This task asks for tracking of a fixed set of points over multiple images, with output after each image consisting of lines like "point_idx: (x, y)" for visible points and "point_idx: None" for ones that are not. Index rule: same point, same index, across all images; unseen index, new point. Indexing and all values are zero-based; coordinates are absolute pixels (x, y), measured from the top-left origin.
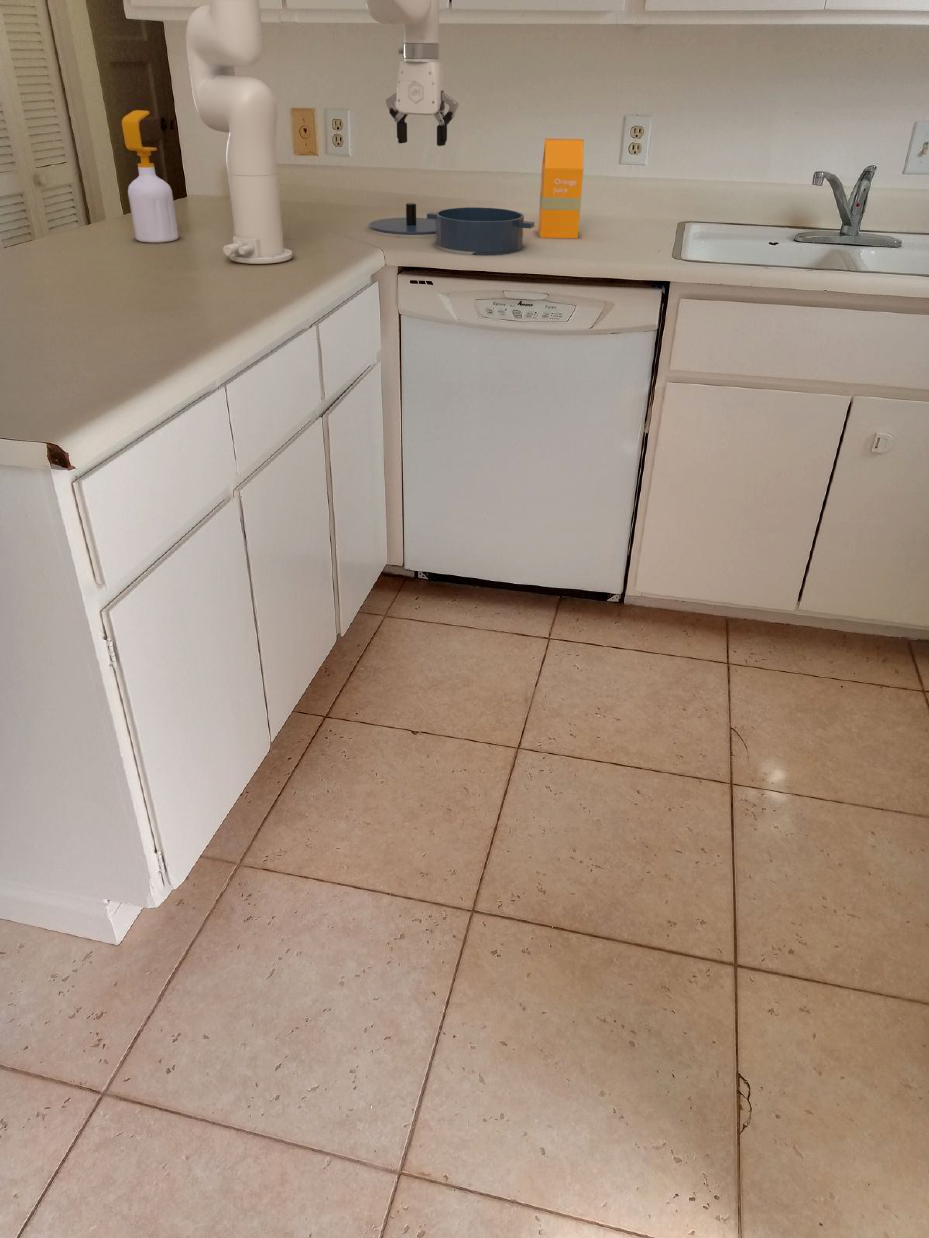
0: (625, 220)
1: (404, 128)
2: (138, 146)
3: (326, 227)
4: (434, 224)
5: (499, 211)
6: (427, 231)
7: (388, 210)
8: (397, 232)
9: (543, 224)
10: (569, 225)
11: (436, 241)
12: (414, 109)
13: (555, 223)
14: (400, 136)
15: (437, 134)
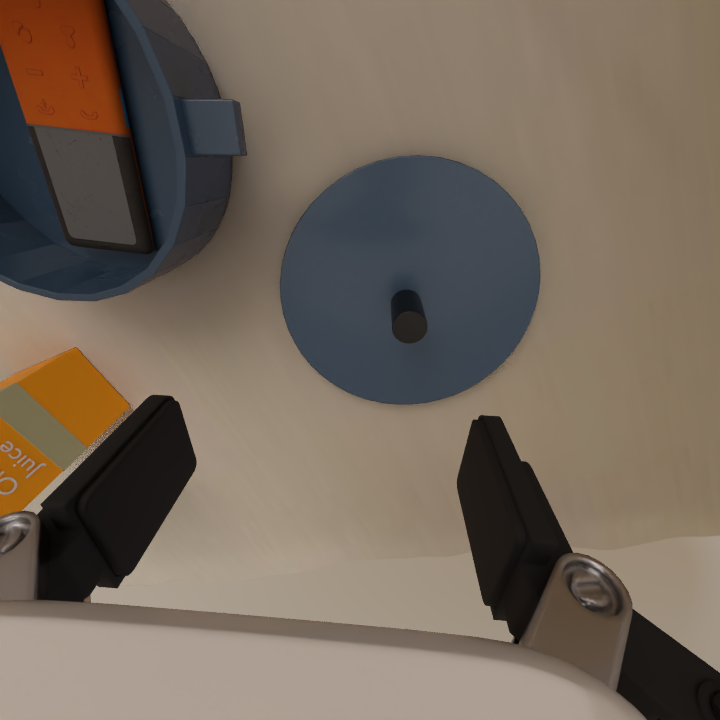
0: None
1: (486, 542)
2: None
3: (693, 205)
4: (346, 335)
5: (63, 291)
6: (309, 214)
7: (546, 495)
8: (398, 157)
9: (46, 364)
10: (1, 383)
11: (178, 22)
12: (250, 717)
13: (22, 375)
14: (491, 450)
15: (120, 446)
